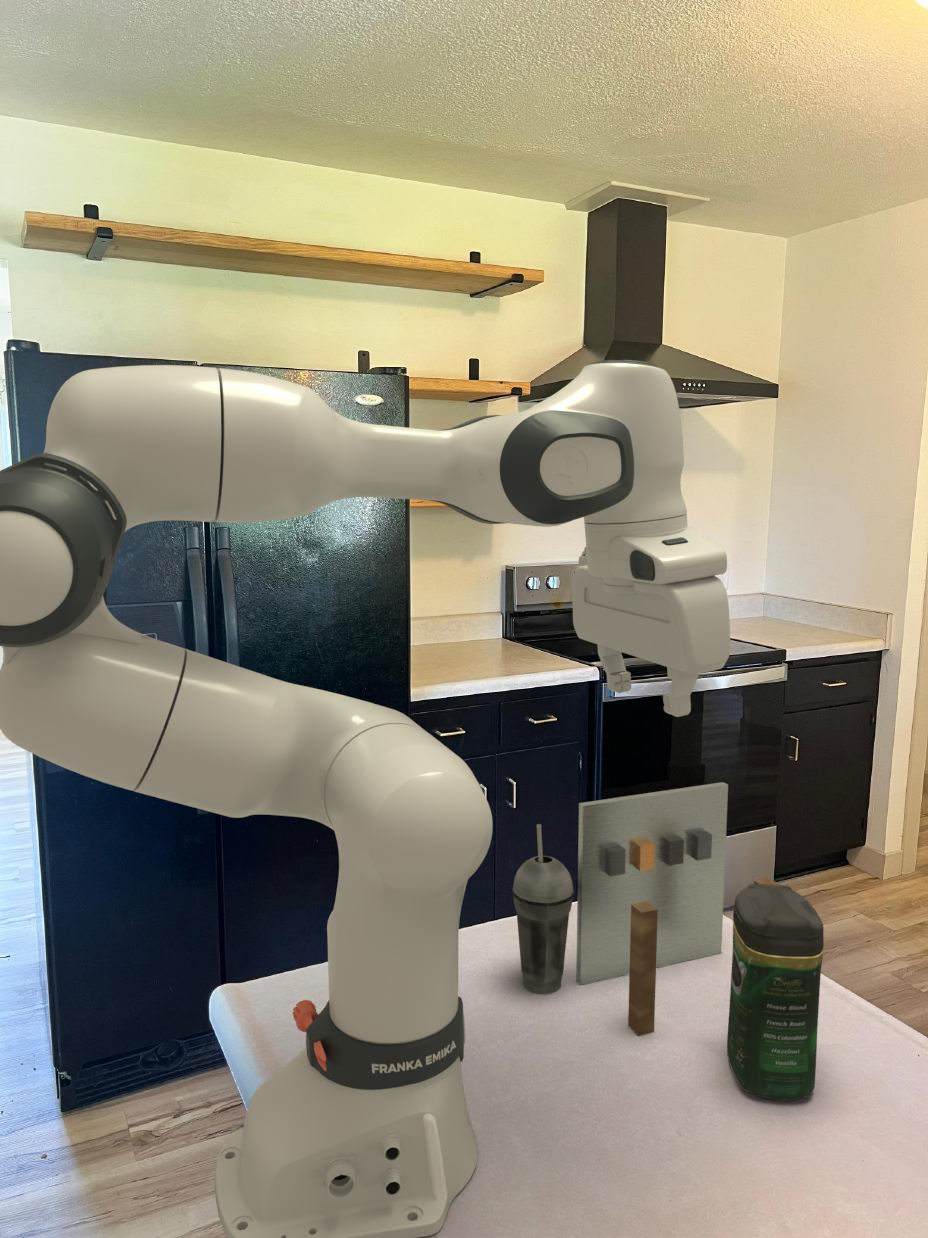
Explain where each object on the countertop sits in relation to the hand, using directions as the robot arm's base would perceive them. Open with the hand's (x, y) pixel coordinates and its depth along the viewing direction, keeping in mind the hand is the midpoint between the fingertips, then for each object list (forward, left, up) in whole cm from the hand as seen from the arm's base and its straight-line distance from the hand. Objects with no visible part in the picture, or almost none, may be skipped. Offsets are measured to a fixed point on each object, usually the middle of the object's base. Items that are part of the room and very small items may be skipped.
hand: (647, 701), depth 81 cm
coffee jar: (+14, -3, -39) cm, 41 cm away
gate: (+14, +8, -39) cm, 42 cm away
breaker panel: (+14, +19, -39) cm, 45 cm away
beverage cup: (0, +20, -39) cm, 44 cm away
